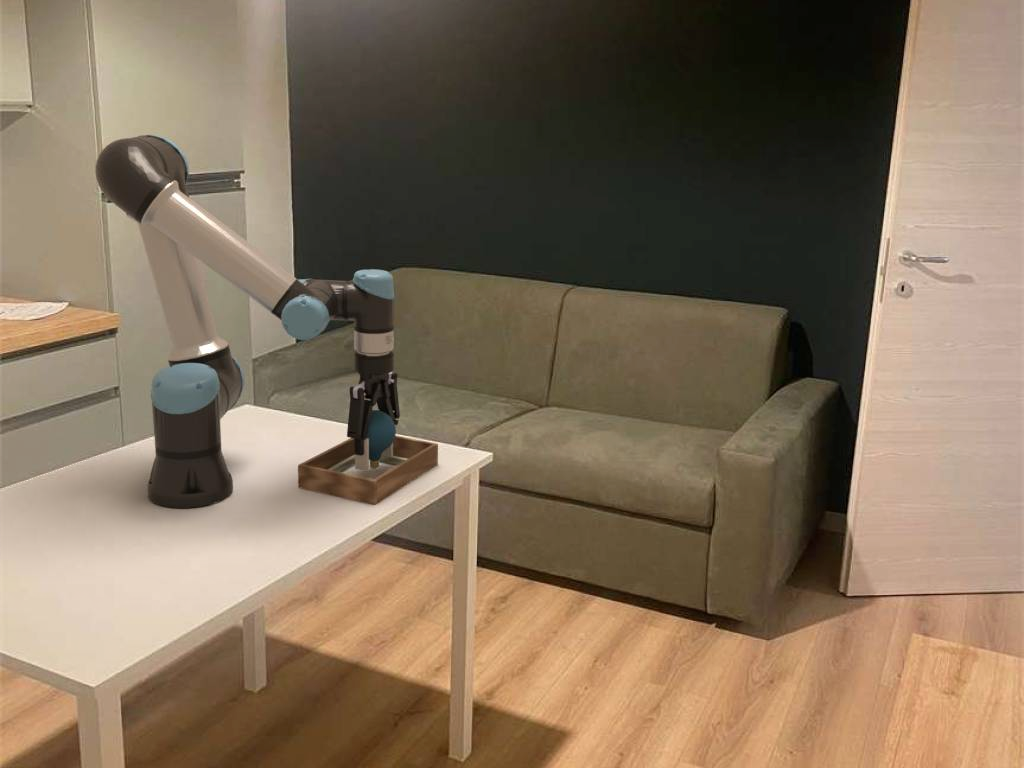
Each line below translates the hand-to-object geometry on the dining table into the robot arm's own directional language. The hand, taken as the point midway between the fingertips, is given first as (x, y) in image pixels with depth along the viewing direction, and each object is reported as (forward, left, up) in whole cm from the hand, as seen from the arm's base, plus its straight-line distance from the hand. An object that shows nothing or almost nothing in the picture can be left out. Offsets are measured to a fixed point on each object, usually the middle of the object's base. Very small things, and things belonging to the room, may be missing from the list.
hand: (374, 462), depth 208 cm
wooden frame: (0, -1, -2) cm, 3 cm away
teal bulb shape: (0, 0, -2) cm, 2 cm away
